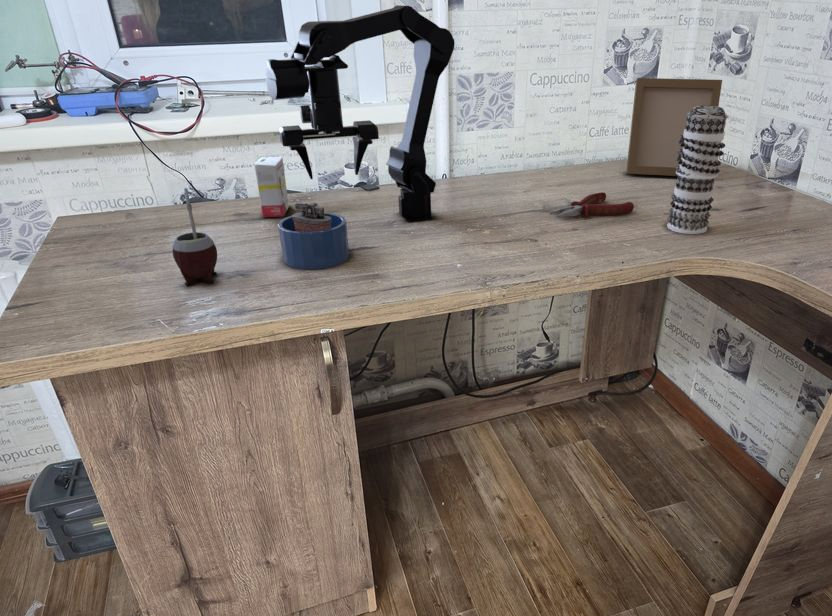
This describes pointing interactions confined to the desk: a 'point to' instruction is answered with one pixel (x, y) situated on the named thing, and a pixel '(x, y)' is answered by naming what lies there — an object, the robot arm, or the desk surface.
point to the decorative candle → (697, 169)
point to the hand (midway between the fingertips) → (334, 176)
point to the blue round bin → (314, 244)
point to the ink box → (272, 186)
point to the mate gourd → (195, 253)
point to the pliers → (593, 207)
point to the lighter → (310, 218)
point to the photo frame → (664, 120)
